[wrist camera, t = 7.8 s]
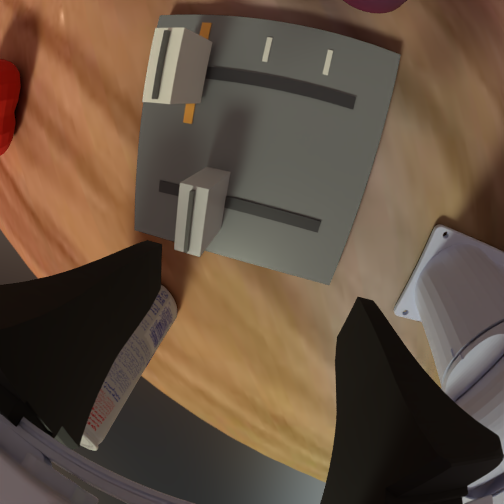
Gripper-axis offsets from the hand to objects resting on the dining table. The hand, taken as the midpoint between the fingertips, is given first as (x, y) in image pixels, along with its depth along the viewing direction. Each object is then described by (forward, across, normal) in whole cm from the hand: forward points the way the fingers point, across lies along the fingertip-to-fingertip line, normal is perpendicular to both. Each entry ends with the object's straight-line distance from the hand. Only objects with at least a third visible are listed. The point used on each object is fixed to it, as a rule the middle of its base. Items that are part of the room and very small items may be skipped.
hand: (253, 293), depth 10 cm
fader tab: (+9, +7, -7) cm, 14 cm away
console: (+10, +3, -3) cm, 11 cm away
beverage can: (+11, +9, +12) cm, 19 cm away
